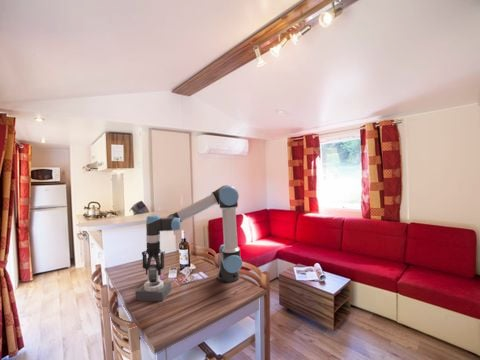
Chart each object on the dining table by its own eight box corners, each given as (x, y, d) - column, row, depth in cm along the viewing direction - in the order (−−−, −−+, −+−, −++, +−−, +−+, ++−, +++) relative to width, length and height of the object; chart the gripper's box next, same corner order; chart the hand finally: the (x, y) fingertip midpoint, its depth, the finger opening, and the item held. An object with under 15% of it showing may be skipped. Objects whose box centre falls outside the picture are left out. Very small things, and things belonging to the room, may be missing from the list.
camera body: (171, 290, 140) (170, 279, 140) (162, 301, 128) (162, 288, 128) (146, 289, 142) (146, 278, 142) (135, 300, 130) (135, 287, 130)
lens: (159, 278, 137) (159, 263, 137) (155, 282, 132) (155, 266, 132) (151, 278, 138) (151, 263, 138) (147, 282, 133) (147, 266, 133)
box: (156, 285, 148) (156, 267, 148) (148, 284, 149) (148, 266, 149) (164, 278, 158) (164, 261, 158) (157, 277, 159) (156, 260, 159)
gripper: (170, 239, 138) (170, 277, 138) (142, 239, 139) (142, 276, 140) (165, 243, 130) (165, 283, 130) (135, 242, 132) (135, 282, 132)
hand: (153, 280), depth 135 cm, fingers closed on lens, 5 cm apart
